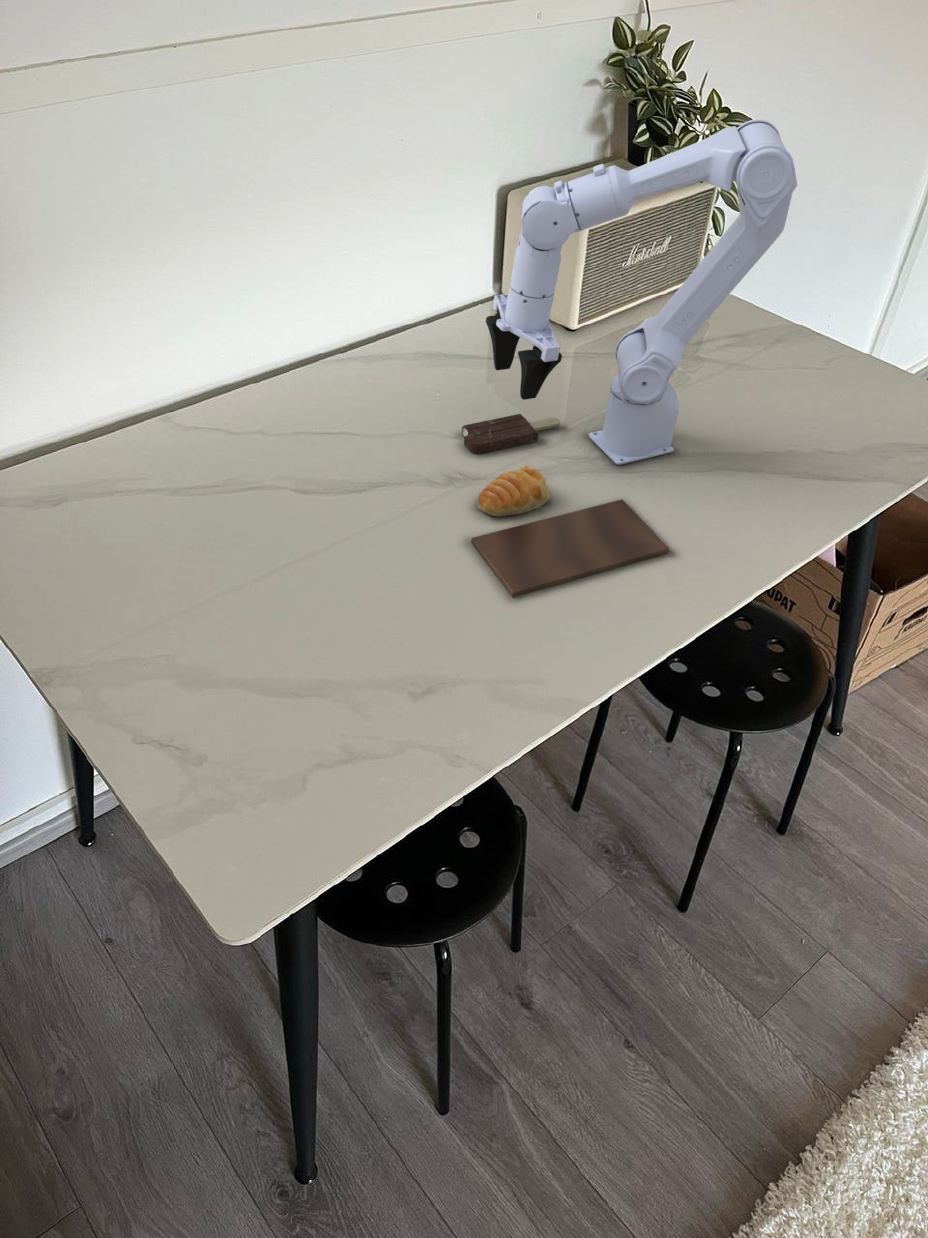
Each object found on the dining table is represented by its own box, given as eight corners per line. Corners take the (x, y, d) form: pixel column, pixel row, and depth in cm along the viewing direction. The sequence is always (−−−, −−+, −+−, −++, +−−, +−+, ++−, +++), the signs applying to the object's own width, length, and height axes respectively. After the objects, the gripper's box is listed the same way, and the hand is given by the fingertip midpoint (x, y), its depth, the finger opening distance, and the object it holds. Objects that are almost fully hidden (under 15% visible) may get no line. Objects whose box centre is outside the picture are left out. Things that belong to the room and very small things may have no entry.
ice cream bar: (549, 416, 150) (456, 436, 145) (550, 406, 149) (456, 426, 144) (567, 435, 147) (472, 456, 142) (568, 425, 146) (472, 446, 140)
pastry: (498, 528, 130) (500, 504, 127) (464, 502, 134) (466, 477, 131) (553, 503, 135) (556, 479, 132) (519, 478, 138) (522, 454, 136)
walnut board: (621, 503, 135) (622, 498, 135) (668, 553, 128) (669, 548, 128) (470, 542, 128) (471, 537, 127) (512, 597, 121) (512, 592, 120)
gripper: (478, 264, 133) (465, 359, 143) (532, 318, 124) (514, 415, 134) (526, 260, 136) (510, 353, 145) (581, 312, 127) (560, 407, 136)
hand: (515, 382), depth 140 cm, fingers open, 7 cm apart
